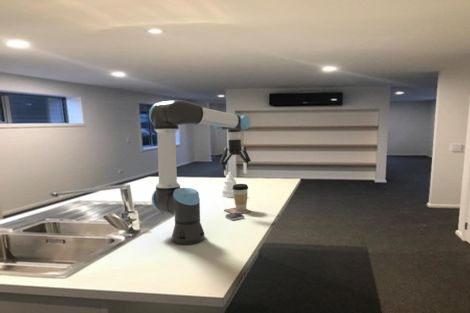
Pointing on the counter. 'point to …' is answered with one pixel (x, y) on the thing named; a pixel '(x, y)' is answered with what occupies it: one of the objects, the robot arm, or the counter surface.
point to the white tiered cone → (228, 186)
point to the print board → (236, 211)
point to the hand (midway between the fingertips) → (235, 174)
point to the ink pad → (234, 216)
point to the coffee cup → (240, 196)
